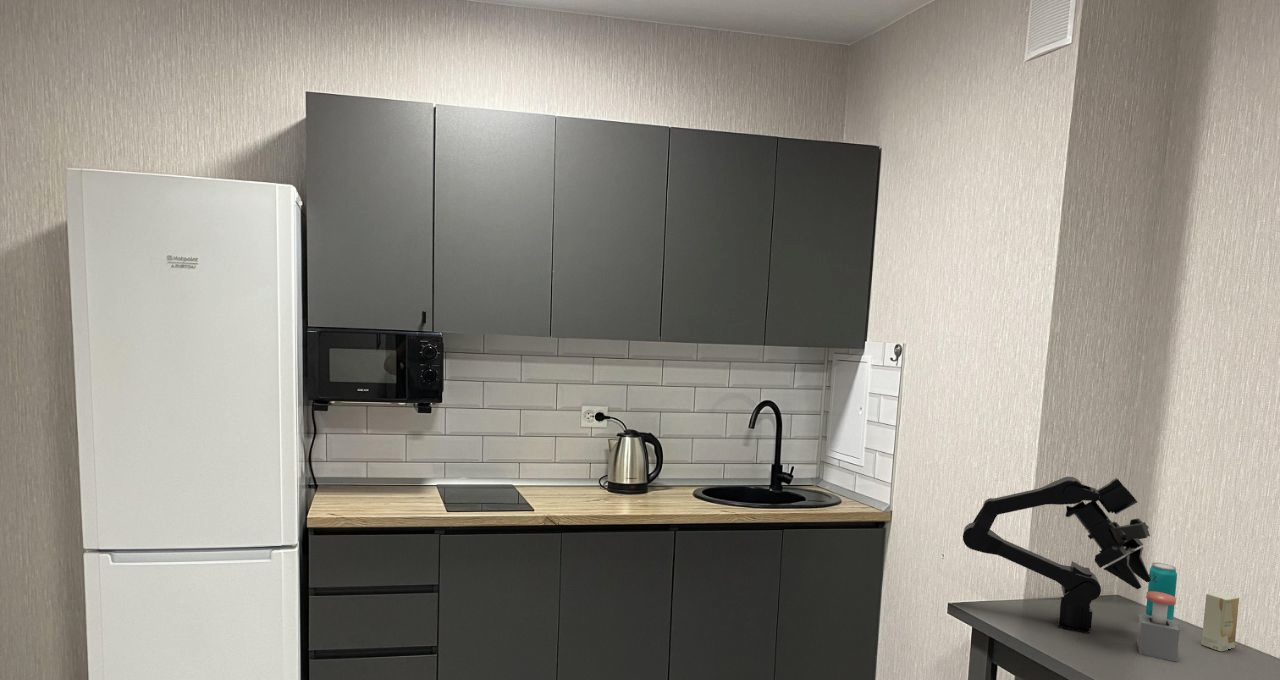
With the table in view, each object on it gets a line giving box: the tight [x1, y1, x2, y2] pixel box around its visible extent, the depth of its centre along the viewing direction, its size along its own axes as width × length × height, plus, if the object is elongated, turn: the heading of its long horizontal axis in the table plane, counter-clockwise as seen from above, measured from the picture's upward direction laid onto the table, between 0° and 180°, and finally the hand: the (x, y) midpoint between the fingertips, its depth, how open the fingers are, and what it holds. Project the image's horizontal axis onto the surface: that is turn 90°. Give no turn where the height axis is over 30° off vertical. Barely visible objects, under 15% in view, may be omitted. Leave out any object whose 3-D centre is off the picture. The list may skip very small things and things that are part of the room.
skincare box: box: [1200, 591, 1240, 652], centre depth 187 cm, size 6×4×12 cm
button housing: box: [1136, 613, 1180, 663], centre depth 181 cm, size 7×7×7 cm
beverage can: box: [1145, 562, 1178, 620], centre depth 199 cm, size 6×6×15 cm
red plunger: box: [1145, 590, 1177, 625], centre depth 181 cm, size 6×6×8 cm
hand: (1144, 584), depth 184 cm, fingers open, 9 cm apart
